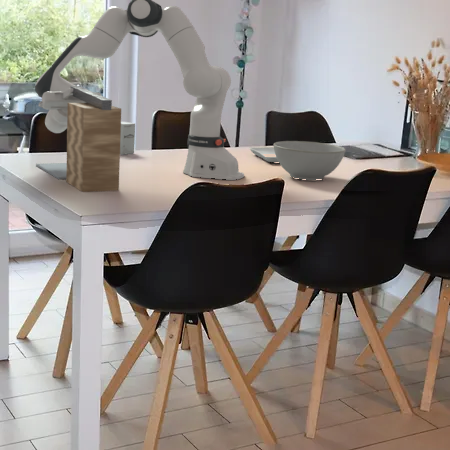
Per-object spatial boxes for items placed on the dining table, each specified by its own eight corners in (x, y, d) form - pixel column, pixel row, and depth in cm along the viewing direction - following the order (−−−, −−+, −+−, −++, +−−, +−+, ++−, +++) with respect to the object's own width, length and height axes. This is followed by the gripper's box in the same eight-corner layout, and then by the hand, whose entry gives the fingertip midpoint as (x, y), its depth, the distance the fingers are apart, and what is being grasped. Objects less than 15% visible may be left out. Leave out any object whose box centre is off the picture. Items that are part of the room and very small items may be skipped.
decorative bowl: (350, 177, 304) (353, 146, 301) (330, 188, 280) (333, 154, 277) (285, 169, 314) (287, 138, 311) (260, 178, 290) (262, 145, 287)
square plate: (327, 167, 329) (328, 157, 328) (265, 165, 322) (266, 156, 321) (305, 156, 354) (306, 147, 353) (247, 154, 347) (247, 146, 346)
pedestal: (66, 182, 260) (67, 102, 254) (100, 180, 266) (103, 103, 259) (82, 191, 246) (84, 108, 240) (118, 190, 252) (121, 108, 246)
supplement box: (122, 155, 322) (123, 124, 319) (109, 152, 326) (110, 122, 323) (134, 153, 327) (135, 123, 324) (121, 151, 332) (122, 121, 329)
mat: (36, 165, 285) (36, 163, 285) (73, 164, 292) (73, 162, 292) (58, 179, 263) (58, 177, 263) (98, 178, 270) (98, 175, 270)
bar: (70, 94, 265) (70, 85, 264) (78, 95, 266) (79, 86, 265) (102, 110, 240) (102, 100, 239) (111, 110, 241) (111, 100, 240)
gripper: (35, 98, 269) (46, 81, 257) (92, 99, 279) (105, 82, 267) (38, 115, 268) (49, 98, 256) (95, 115, 278) (108, 99, 266)
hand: (78, 90), depth 262 cm, fingers closed on bar, 3 cm apart
